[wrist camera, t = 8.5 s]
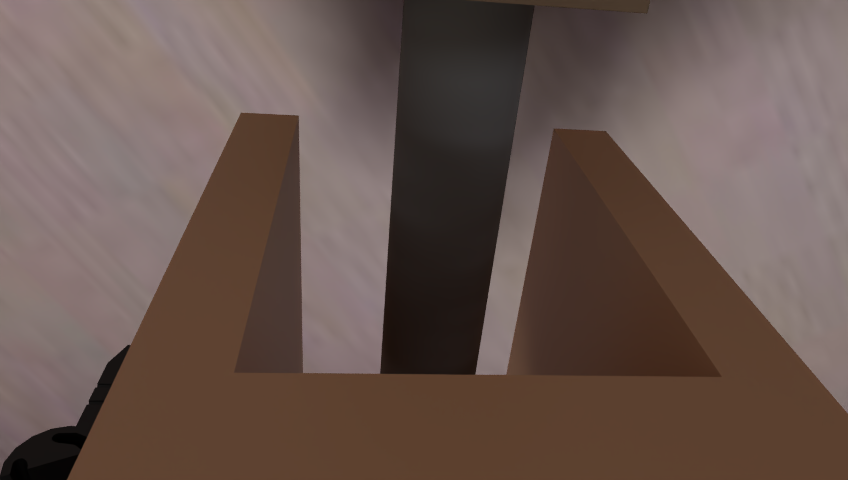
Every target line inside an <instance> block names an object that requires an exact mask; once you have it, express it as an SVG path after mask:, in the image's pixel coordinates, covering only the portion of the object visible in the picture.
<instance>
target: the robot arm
mask: <svg viewBox="0 0 848 480" xmlns="http://www.w3.org/2000/svg"><path fill="white" fill-rule="evenodd" d="M130 346H131V345H127V346H126V347H125V348H124V349H123V350H122V351H121V352H120V353H118V354H117V355H116V356H115V357H114V358H113V359H112V360H111V361H109V362H108V364H107V366H106V368H105V370H104V371H103V373H102V375H101V377H100V379H99V381H98V383H97V384H98V385H97V388H95V389H94V391H93V393H92V395H91V397H90V399H89V405H86V407H85V409H84V411H83V413H82V415H81V417H80V419H79V421H78V423H77V425H76V426H67V427H60V428H53V429H50V430H47V431H45V432H42V433H40V434H37V435H35V436H32V437H31V438H29V439H28V440H27V441H25V442H24V443H22V444H21V445H19V446H18V447H16V448H15V449H14V451H13V452H12V453H11V454H10V456H9V457H8V458H7V459H6V460H5V462H4V464H3V467H2V470H1V474H0V480H67V479H68V477H69V474H70V472H71V470H72V468H73V466H74V464H75V462H76V460H77V458H78V455H79V453H80V451H81V449H82V447H83V445H84V443H85V441H86V439H87V436H88V434H89V432H90V430H91V428H92V426H93V424H94V422H95V420H96V418H97V415H98V413H99V411H100V409H101V407H102V405H103V403H104V401H105V399H106V396H107V394H108V392H109V390H110V388H111V386H112V384H113V382H114V380H115V377H116V375H117V373H118V371H119V369H120V367H121V365H122V363H123V361H124V358H125V356H126V354H127V352H128V350H129V348H130Z"/></svg>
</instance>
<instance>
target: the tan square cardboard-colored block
mask: <svg viewBox="0 0 848 480" xmlns="http://www.w3.org/2000/svg"><path fill="white" fill-rule="evenodd" d="M67 480H848V413H847V412H846V411H845V410H844V409H843V408H842V406H841V405H840V404H839V403H838V402H837V401H836V399H835V398H834V397H833V396H832V395H831V394H830V392H829V391H828V390H827V389H826V388H825V387H824V385H823V384H822V383H821V382H820V381H819V380H818V378H817V377H816V376H815V375H814V374H813V373H812V371H811V370H810V369H809V368H808V367H807V366H806V364H805V363H804V362H803V361H802V360H801V359H800V357H799V356H798V355H797V354H796V353H795V352H794V350H793V349H792V348H791V347H790V346H789V345H788V343H787V342H786V341H785V340H784V339H783V338H782V336H781V335H780V334H779V333H778V332H777V331H776V329H775V328H774V327H773V326H772V325H771V324H770V322H769V321H768V320H767V319H766V318H765V317H764V315H763V314H762V313H761V312H760V311H759V310H758V308H757V307H756V306H755V305H754V304H753V303H752V301H751V300H750V299H749V298H748V297H747V296H746V294H745V293H744V292H743V291H742V290H741V289H740V287H739V286H738V285H737V284H736V283H735V282H734V280H733V279H732V278H731V277H730V276H729V275H728V273H727V272H726V271H725V270H724V269H723V268H722V266H721V265H720V264H719V263H718V262H717V261H716V259H715V258H714V257H713V256H712V255H711V254H710V252H709V251H708V250H707V249H706V248H705V247H704V245H703V244H702V243H701V242H700V241H699V240H698V238H697V237H696V236H695V235H694V234H693V233H692V231H691V230H690V229H689V228H688V227H687V226H686V224H685V223H684V222H683V221H682V220H681V218H680V217H679V216H678V215H677V214H676V213H675V211H674V210H673V209H672V208H671V207H670V206H669V204H668V203H667V202H666V201H665V200H664V199H663V197H662V196H661V195H660V194H659V193H658V192H657V190H656V189H655V188H654V187H653V186H652V185H651V183H650V182H649V181H648V180H647V179H646V178H645V176H644V175H643V174H642V173H641V172H640V171H639V169H638V168H637V167H636V166H635V165H634V164H633V162H632V161H631V160H630V159H629V158H628V157H627V155H626V154H625V153H624V152H623V151H622V150H621V148H620V147H619V146H618V145H617V144H616V143H615V141H614V140H613V139H612V138H611V137H610V136H609V134H608V133H607V132H606V131H591V130H571V129H554V130H553V136H552V141H551V146H550V151H549V156H548V162H547V167H546V172H545V177H544V182H543V187H542V193H541V198H540V203H539V208H538V213H537V219H536V224H535V229H534V234H533V239H532V245H531V250H530V255H529V260H528V265H527V270H526V276H525V281H524V286H523V291H522V296H521V302H520V307H519V312H518V317H517V322H516V328H515V333H514V338H513V343H512V348H511V353H510V359H509V364H508V369H507V374H506V375H445V374H331V373H303V350H302V289H301V228H300V167H299V116H295V115H275V114H256V113H241V114H240V116H239V118H238V120H237V122H236V125H235V127H234V129H233V131H232V133H231V135H230V137H229V139H228V141H227V143H226V146H225V148H224V150H223V152H222V154H221V156H220V158H219V160H218V162H217V165H216V167H215V169H214V171H213V173H212V175H211V177H210V179H209V181H208V184H207V186H206V188H205V190H204V192H203V194H202V196H201V198H200V200H199V203H198V205H197V207H196V209H195V211H194V213H193V215H192V217H191V219H190V221H189V224H188V226H187V228H186V230H185V232H184V234H183V236H182V238H181V240H180V243H179V245H178V247H177V249H176V251H175V253H174V255H173V257H172V259H171V262H170V264H169V266H168V268H167V270H166V272H165V274H164V276H163V278H162V280H161V283H160V285H159V287H158V289H157V291H156V293H155V295H154V297H153V299H152V302H151V304H150V306H149V308H148V310H147V312H146V314H145V316H144V318H143V321H142V323H141V325H140V327H139V329H138V331H137V333H136V335H135V337H134V340H133V342H132V344H131V346H130V348H129V350H128V352H127V354H126V356H125V358H124V361H123V363H122V365H121V367H120V369H119V371H118V373H117V375H116V377H115V380H114V382H113V384H112V386H111V388H110V390H109V392H108V394H107V396H106V399H105V401H104V403H103V405H102V407H101V409H100V411H99V413H98V415H97V418H96V420H95V422H94V424H93V426H92V428H91V430H90V432H89V434H88V436H87V439H86V441H85V443H84V445H83V447H82V449H81V451H80V453H79V455H78V458H77V460H76V462H75V464H74V466H73V468H72V470H71V472H70V474H69V477H68V479H67Z"/></svg>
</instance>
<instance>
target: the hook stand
mask: <svg viewBox="0 0 848 480" xmlns="http://www.w3.org/2000/svg"><path fill="white" fill-rule="evenodd" d="M649 4H650V0H404V6H403V22H402V38H401V54H400V69H399V85H398V101H397V117H396V133H395V149H394V165H393V180H392V196H391V212H390V228H389V244H388V260H387V276H386V292H385V307H384V323H383V339H382V355H381V371H380V374H445V375H475V373H476V367H477V360H478V354H479V348H480V342H481V335H482V329H483V323H484V317H485V311H486V304H487V298H488V292H489V286H490V279H491V273H492V267H493V261H494V254H495V248H496V242H497V236H498V230H499V223H500V217H501V211H502V205H503V198H504V192H505V186H506V180H507V173H508V167H509V161H510V155H511V149H512V142H513V136H514V130H515V124H516V117H517V111H518V105H519V99H520V92H521V86H522V80H523V74H524V68H525V61H526V55H527V49H528V43H529V36H530V30H531V24H532V18H533V12H534V5H537V6H551V7H565V8H579V9H593V10H606V11H620V12H634V13H647V12H648V8H649Z"/></svg>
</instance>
